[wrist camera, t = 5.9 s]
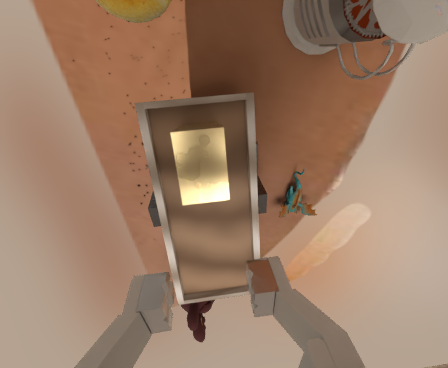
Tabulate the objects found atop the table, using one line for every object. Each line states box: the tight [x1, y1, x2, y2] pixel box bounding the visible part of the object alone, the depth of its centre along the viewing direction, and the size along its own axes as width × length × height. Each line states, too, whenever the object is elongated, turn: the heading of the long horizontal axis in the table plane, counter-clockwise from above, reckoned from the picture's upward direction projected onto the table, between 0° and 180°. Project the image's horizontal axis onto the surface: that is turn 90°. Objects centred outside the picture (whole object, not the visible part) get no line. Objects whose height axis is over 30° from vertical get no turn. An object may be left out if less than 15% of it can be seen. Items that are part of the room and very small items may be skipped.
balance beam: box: [135, 92, 260, 305], centre depth 27 cm, size 26×12×3 cm, turn 4°
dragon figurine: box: [279, 170, 317, 217], centre depth 36 cm, size 6×7×8 cm
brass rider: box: [170, 122, 230, 205], centre depth 20 cm, size 6×4×7 cm, turn 4°
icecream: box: [181, 300, 215, 342], centre depth 37 cm, size 7×7×15 cm
